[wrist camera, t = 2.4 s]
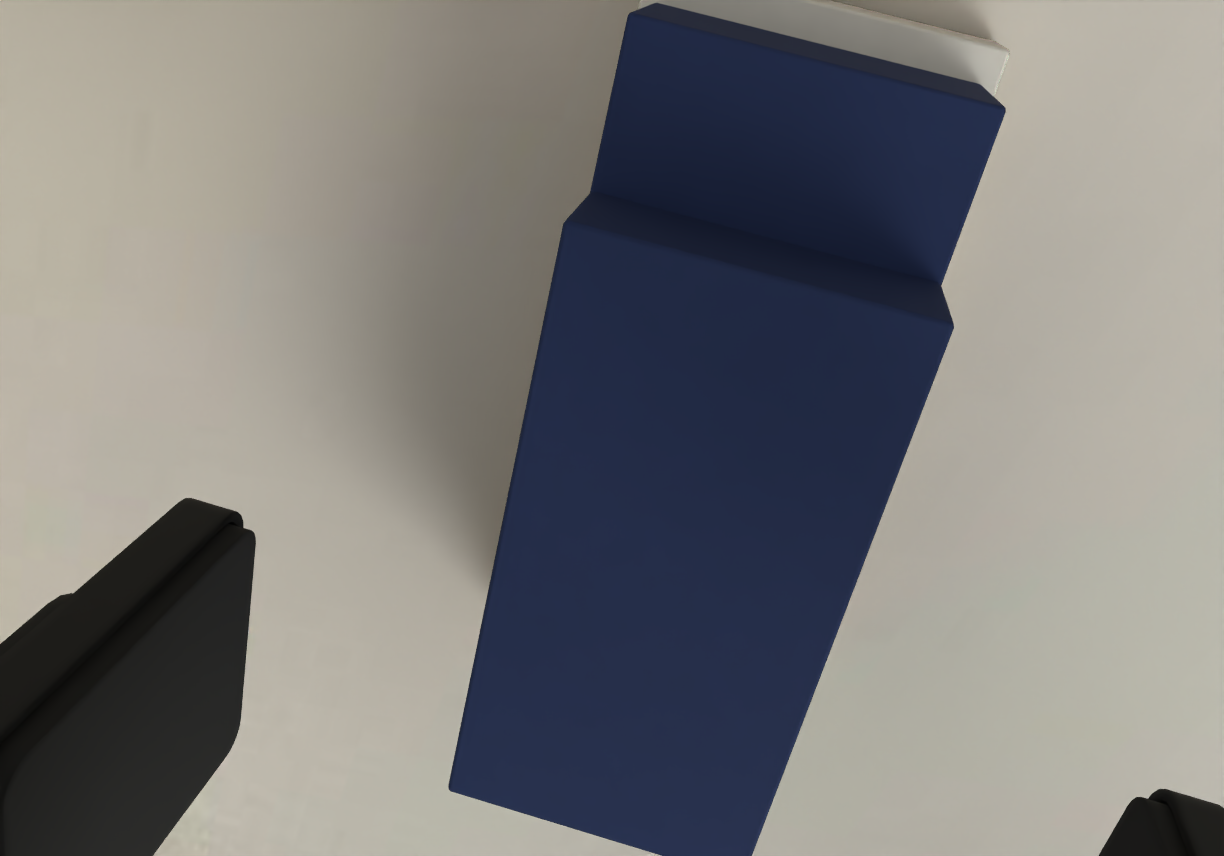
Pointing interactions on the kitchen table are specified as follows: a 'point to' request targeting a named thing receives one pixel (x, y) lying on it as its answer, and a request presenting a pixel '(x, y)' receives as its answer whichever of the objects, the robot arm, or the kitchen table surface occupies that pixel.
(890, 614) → the kitchen table surface
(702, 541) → the two-tone stepped block
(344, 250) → the kitchen table surface
